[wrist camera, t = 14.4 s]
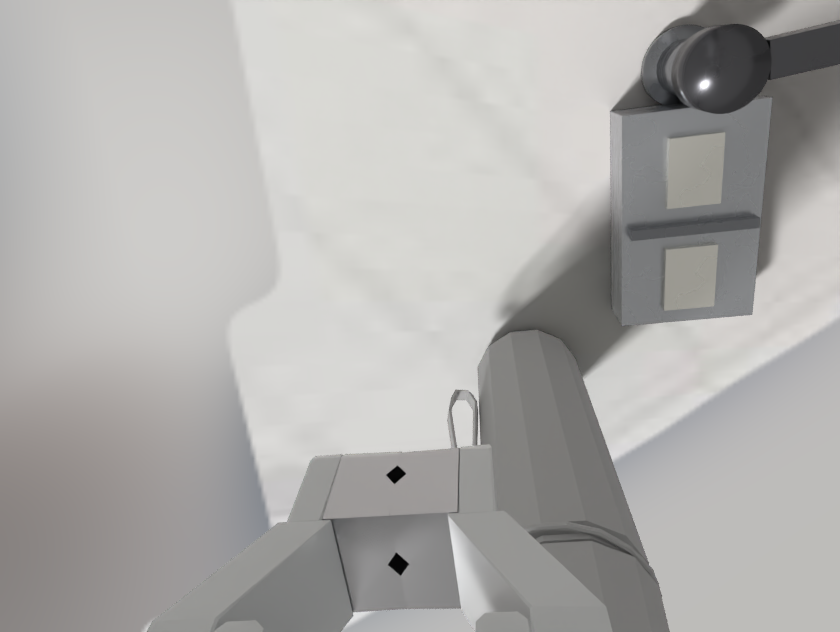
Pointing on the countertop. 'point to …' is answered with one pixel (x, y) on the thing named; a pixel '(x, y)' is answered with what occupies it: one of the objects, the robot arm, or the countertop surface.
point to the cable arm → (746, 63)
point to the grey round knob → (664, 63)
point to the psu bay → (686, 211)
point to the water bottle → (561, 473)
